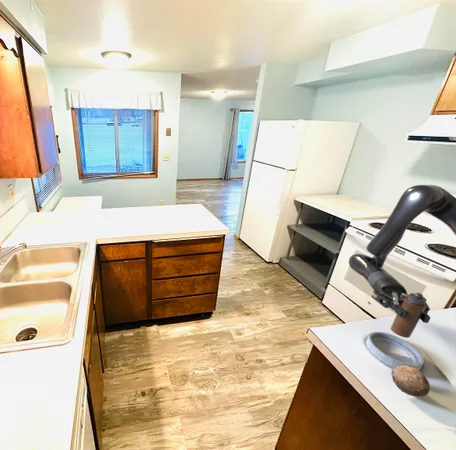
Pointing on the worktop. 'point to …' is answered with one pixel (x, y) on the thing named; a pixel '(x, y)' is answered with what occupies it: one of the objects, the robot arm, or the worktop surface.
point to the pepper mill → (409, 315)
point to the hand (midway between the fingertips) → (415, 318)
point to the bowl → (392, 358)
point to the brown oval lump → (410, 381)
